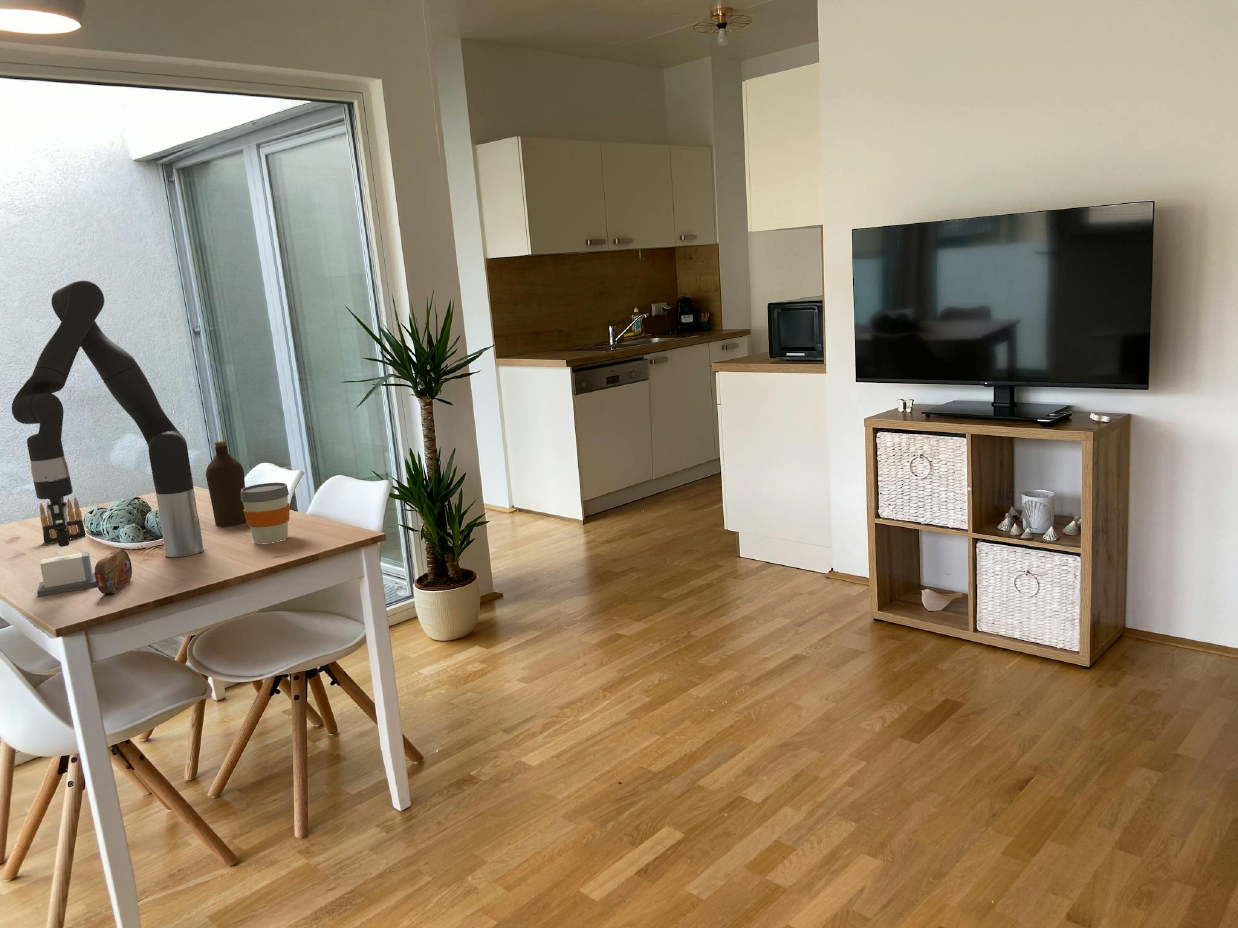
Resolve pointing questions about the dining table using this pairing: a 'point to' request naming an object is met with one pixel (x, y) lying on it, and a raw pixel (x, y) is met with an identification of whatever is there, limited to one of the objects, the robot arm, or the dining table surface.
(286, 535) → the reusable coffee cup
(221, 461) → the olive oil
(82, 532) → the ammunition clip
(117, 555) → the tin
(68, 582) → the box
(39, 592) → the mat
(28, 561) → the dining table surface
